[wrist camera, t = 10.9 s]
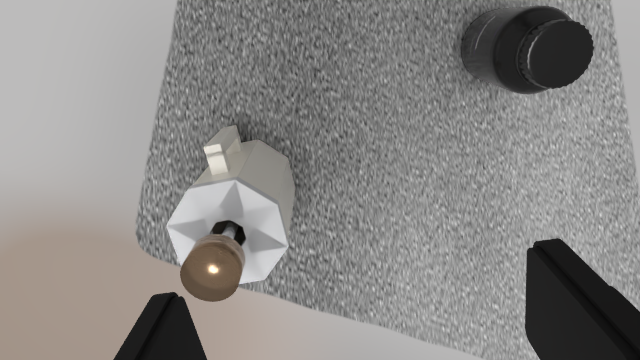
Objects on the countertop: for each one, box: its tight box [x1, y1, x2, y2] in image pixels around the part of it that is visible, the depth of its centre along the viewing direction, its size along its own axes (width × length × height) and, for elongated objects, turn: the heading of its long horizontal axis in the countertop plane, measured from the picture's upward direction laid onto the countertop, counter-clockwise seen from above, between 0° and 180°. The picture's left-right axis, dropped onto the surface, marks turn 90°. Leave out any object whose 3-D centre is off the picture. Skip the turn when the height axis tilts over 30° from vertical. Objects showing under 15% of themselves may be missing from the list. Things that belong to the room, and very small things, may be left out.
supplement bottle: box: [462, 6, 594, 94], centre depth 35 cm, size 7×7×12 cm
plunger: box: [180, 220, 245, 302], centre depth 36 cm, size 4×4×17 cm
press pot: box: [166, 125, 295, 284], centre depth 39 cm, size 12×9×13 cm
